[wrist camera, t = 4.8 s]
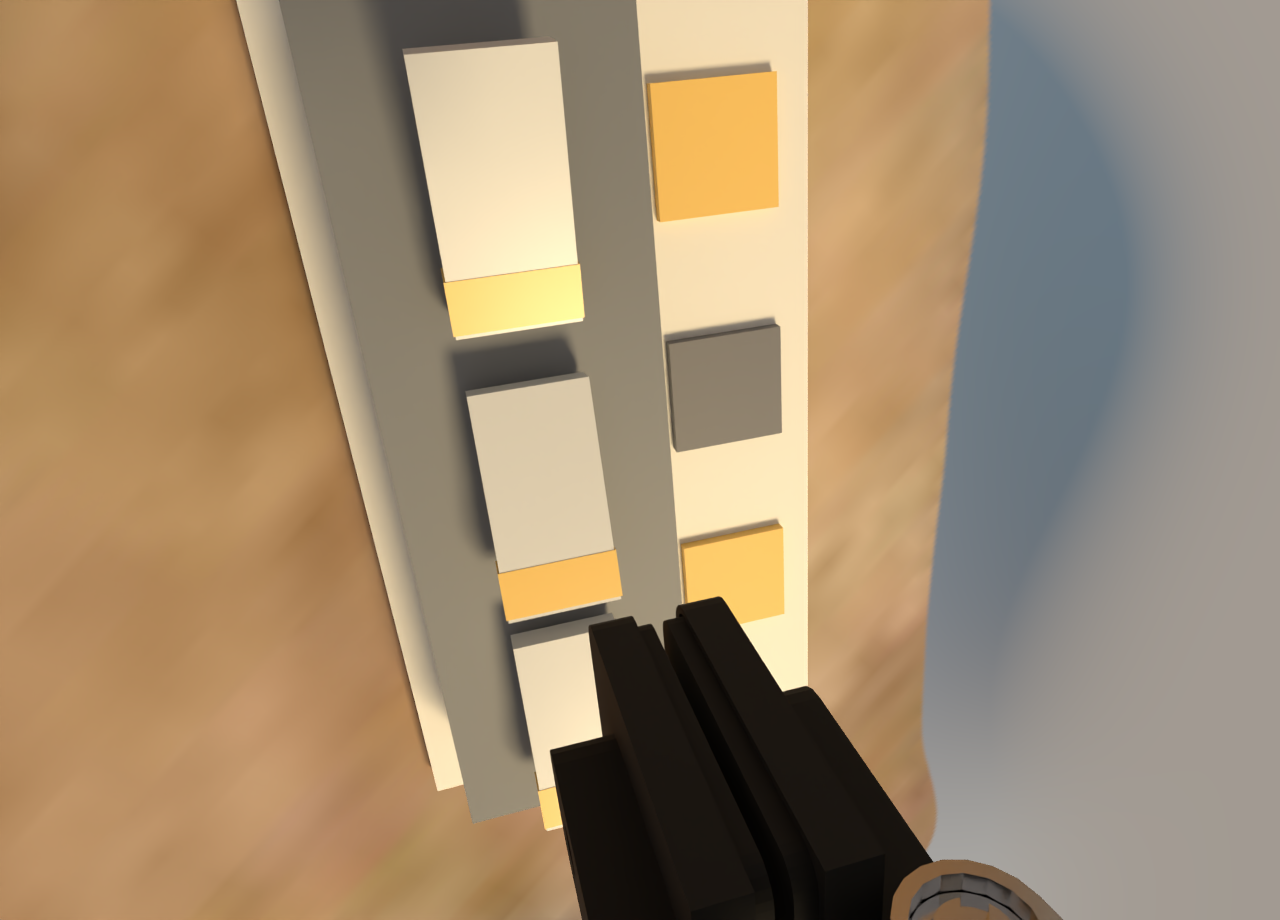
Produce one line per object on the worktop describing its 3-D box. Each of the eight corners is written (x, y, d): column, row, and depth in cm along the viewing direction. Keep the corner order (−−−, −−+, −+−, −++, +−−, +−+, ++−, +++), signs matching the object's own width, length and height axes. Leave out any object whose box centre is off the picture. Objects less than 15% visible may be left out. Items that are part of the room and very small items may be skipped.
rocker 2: (508, 635, 26) (511, 649, 25) (612, 612, 26) (619, 625, 25) (541, 811, 27) (545, 832, 26) (638, 785, 28) (646, 804, 27)
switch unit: (219, -88, 22) (166, -140, 17) (793, -118, 25) (889, -169, 20) (436, 773, 34) (442, 885, 29) (798, 682, 37) (857, 770, 33)
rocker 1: (399, 48, 18) (401, 55, 17) (551, 35, 19) (560, 41, 18) (451, 324, 21) (454, 341, 21) (577, 305, 22) (584, 321, 21)
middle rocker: (463, 391, 22) (464, 397, 21) (584, 371, 23) (590, 376, 22) (504, 609, 24) (507, 624, 23) (615, 585, 25) (623, 599, 24)
